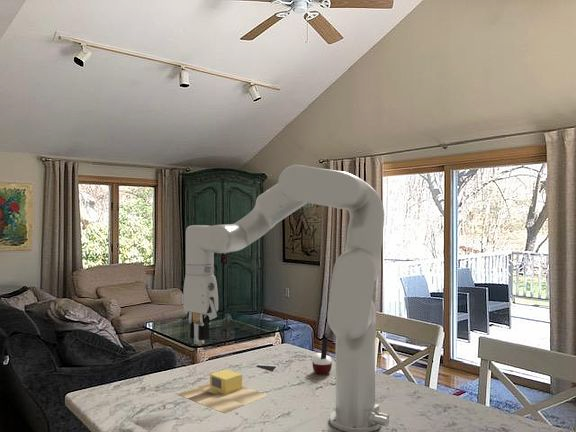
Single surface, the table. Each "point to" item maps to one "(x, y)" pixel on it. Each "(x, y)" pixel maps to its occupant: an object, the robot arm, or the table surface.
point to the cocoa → (322, 360)
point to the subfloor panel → (222, 397)
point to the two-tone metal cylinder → (196, 323)
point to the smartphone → (267, 367)
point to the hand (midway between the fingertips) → (199, 338)
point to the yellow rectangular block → (225, 381)
